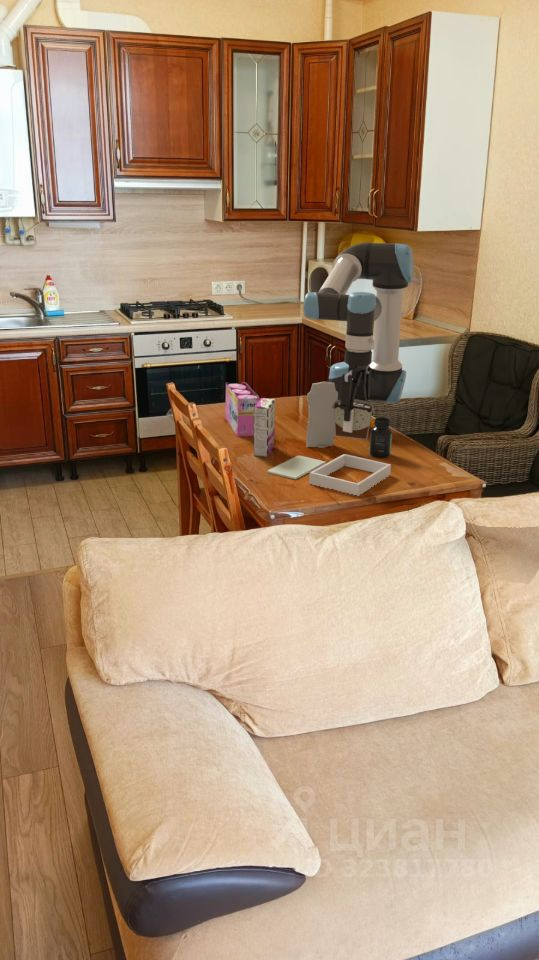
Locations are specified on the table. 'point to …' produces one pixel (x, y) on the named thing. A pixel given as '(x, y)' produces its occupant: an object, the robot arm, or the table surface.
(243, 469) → the table surface
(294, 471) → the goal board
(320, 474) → the bin
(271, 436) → the candy bar box
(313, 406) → the grey upright slab
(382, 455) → the supplement bottle
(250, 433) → the gum box
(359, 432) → the food container
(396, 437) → the table surface
